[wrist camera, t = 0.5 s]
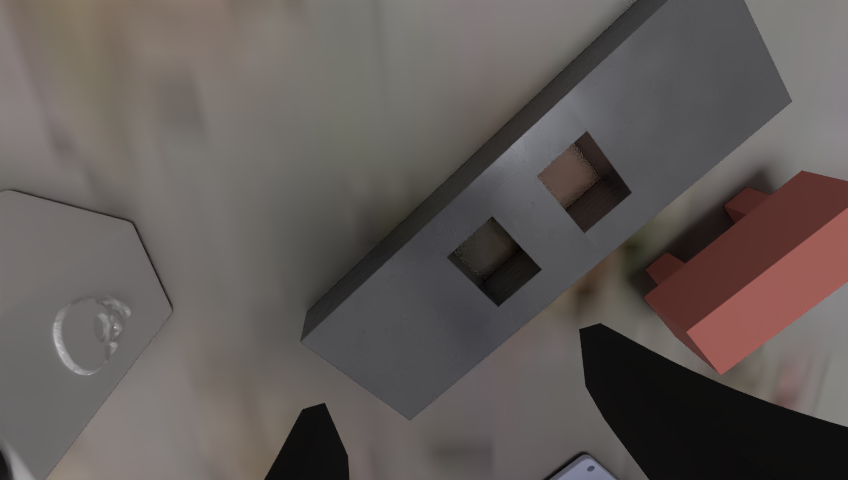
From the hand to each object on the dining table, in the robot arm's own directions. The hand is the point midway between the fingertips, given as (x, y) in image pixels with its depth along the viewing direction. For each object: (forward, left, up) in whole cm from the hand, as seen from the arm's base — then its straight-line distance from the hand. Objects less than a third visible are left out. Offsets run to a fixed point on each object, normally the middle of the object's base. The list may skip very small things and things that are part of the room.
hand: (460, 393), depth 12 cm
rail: (-2, -5, -10) cm, 11 cm away
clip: (-11, -11, -10) cm, 18 cm away
